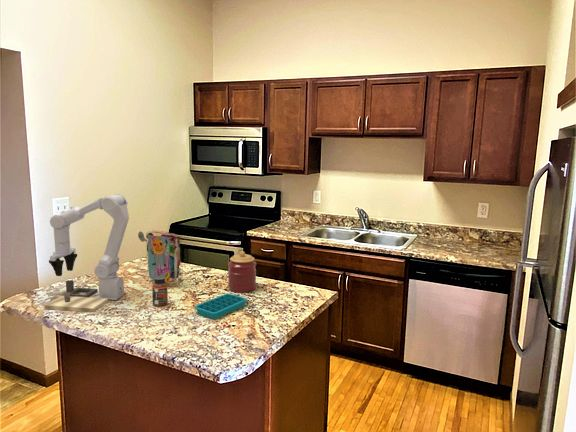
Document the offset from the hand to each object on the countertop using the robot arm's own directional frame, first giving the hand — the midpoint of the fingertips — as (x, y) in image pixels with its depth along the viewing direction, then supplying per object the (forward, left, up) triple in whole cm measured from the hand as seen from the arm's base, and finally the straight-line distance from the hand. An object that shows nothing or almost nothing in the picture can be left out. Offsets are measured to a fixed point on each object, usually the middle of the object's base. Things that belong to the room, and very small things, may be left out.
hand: (64, 273), depth 180 cm
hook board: (-12, +12, -9) cm, 19 cm away
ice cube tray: (-70, +6, -10) cm, 71 cm away
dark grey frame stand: (-7, 0, -9) cm, 12 cm away
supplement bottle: (-44, +5, -10) cm, 46 cm away
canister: (-73, -20, -10) cm, 77 cm away
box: (-32, -22, -10) cm, 40 cm away
